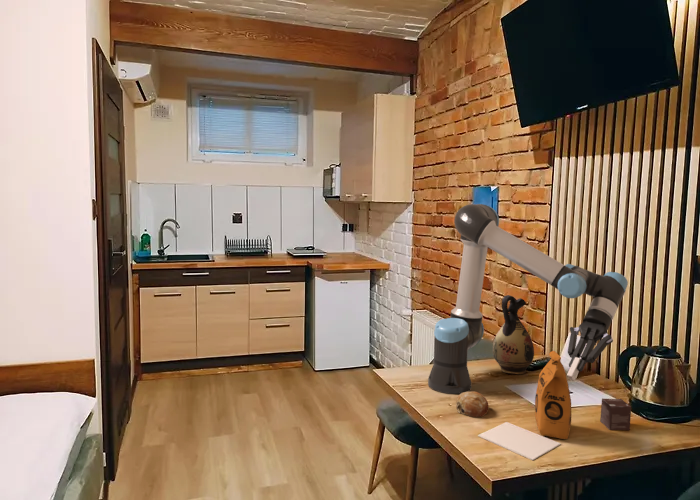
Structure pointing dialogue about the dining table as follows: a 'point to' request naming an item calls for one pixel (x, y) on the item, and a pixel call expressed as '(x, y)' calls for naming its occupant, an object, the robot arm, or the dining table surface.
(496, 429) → the mat
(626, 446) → the dining table surface
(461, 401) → the bread roll
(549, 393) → the coffee package
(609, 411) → the box
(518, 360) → the ceramic jug
